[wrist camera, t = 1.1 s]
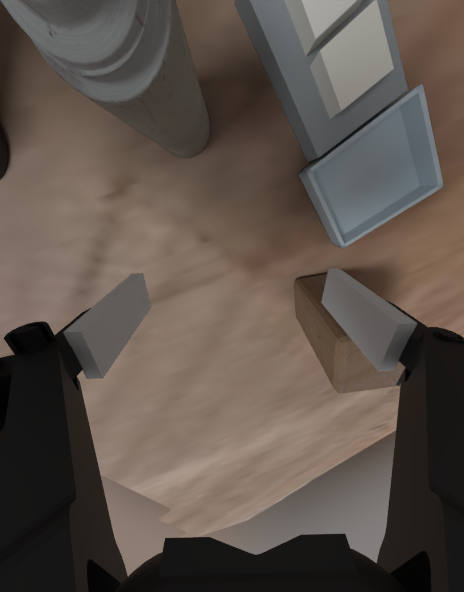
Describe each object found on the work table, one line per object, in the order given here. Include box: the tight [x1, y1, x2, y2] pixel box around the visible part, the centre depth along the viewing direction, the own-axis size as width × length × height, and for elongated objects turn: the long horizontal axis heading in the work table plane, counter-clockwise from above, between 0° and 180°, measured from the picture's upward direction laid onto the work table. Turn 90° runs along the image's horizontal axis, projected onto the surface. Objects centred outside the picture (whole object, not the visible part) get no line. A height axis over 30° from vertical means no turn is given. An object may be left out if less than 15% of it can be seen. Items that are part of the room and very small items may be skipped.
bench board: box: [235, 0, 408, 162], centre depth 25 cm, size 20×12×4 cm, turn 36°
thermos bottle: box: [1, 0, 210, 158], centre depth 17 cm, size 8×8×28 cm
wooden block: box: [294, 274, 405, 393], centre depth 34 cm, size 10×10×20 cm
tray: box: [298, 83, 444, 249], centre depth 31 cm, size 14×16×4 cm
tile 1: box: [310, 0, 394, 119], centre depth 23 cm, size 6×6×3 cm
